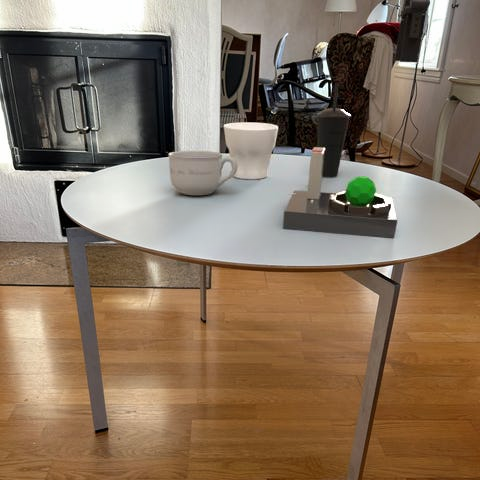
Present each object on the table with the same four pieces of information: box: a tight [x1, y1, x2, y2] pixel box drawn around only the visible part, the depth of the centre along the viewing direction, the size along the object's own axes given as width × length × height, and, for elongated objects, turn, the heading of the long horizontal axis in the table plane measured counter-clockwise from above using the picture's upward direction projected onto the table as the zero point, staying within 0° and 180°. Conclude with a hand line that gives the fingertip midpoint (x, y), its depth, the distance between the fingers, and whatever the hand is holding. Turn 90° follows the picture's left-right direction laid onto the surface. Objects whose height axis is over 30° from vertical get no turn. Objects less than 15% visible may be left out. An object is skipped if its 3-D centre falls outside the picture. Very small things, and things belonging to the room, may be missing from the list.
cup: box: [223, 121, 279, 180], centre depth 111 cm, size 12×12×11 cm
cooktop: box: [282, 190, 398, 239], centre depth 85 cm, size 19×16×3 cm
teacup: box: [167, 150, 237, 196], centre depth 97 cm, size 14×11×8 cm
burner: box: [329, 190, 391, 217], centre depth 81 cm, size 10×10×2 cm
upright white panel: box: [307, 146, 325, 199], centre depth 85 cm, size 5×2×8 cm, turn 167°
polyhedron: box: [345, 175, 377, 206], centre depth 80 cm, size 5×5×5 cm
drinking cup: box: [316, 82, 352, 178], centre depth 111 cm, size 8×8×20 cm
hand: (405, 61), depth 84 cm, fingers open, 13 cm apart
